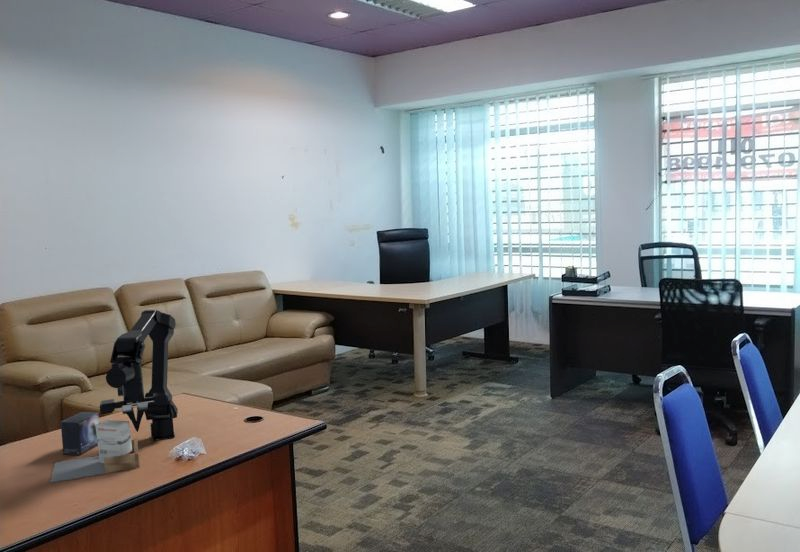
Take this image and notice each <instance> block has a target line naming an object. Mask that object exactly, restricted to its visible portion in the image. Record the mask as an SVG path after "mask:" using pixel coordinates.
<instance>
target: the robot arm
mask: <svg viewBox="0 0 800 552" xmlns="http://www.w3.org/2000/svg"><path fill="white" fill-rule="evenodd" d="M175 328H176V319H175V317H173V316H172V315H171V314H168V313H164V312H161V310H158V309H147V310H146V309H145V310H143V311H142V312H141V315H140V316H139V319H137V320H136V322H135V323H134V325H133V326H132V327H131V328H130V330H129V331H128V332H124V333H122V334H121V335H118V337H116V340H115V341H114V342H113V343H114V344H113V348H112V352H111V357H110V364H111V368H110V369H109V370H108V371H107V373H106V376H105V381H106V383H107V384H108V386H109V387H111V388H113V389H116V390H117V397H122V399H123V400H121V401H120V400H119V401H115V399H114V398H113V399H104V400H101V401H100V402H99V414H100V415H108V414H113V412H114V411H115V410H116V409H121V410H122V414H123V415H127V416H128V418H129V419H130V420H129V421H131V423H132V425H133V428H134V429H135V431H136V432H139V429H140V425H141V422H142V418H143V415H145V418H146V421H151V422H150V423H149V424H150V436H151V438H153V439H152V440H153V441H160V440H165V439H166V440H167V439H172V438H173V439H174V438H175V436H176V434H175V430H174V419H177V418H178V411H179V410H178V407H177V405H176V404H175V403H174V401H173V395H172V393H171V391H170V390H169V388H168V366H169V365H168V364H169V362H168V361H169V342H170V340H171V339H172V337H173V336H174V333H175ZM148 336H149V338H150V340H151V341H152V342H151V343H152V352H151V353H152V357H151V359H152V361H151V385H150V386H151V387H150V389H149V391H148V392H146V393H145V391H144V380H143V371H142V370H143V369H142V362H141V361H143V355H144V351H145V349H146V348H145V347H146V344H145V340H146V339H147V338H148ZM135 406H136V415H135V411H134V407H135Z"/></svg>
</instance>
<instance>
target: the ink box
mask: <svg viewBox="0 0 800 552" xmlns="http://www.w3.org/2000/svg"><path fill="white" fill-rule="evenodd" d="M95 426H96V434H97V442H98V446H97V447H98V456H99V458H100V463H105V462H104V458H109V457H115V456H121V455H127V454H134V453H133V451H132V442H131V439H132V436H131V428H130V420H111V419H106V420H104V421H100V422H99V423H98V424H96V425H95Z"/></svg>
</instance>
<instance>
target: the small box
mask: <svg viewBox="0 0 800 552" xmlns="http://www.w3.org/2000/svg"><path fill="white" fill-rule="evenodd" d="M98 423H100V415H99V412H96V411H95V412H93V411H80V412H79V413H76V414H74V415H71V416H70V417H67V418H65V419H63V420H61V421H60V430H61V441H62V444H61V445H62V455H73V456H81V455H83V454H84V453H87V452H88V451H90V450H92V449H94V448H95V447H98V442H97V434H96V426H95V425H96V424H98Z"/></svg>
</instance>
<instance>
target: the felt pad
mask: <svg viewBox="0 0 800 552" xmlns="http://www.w3.org/2000/svg"><path fill="white" fill-rule="evenodd" d="M105 474H107V473H105V463H100V458H99V455H94V456H89V457H83V458H77V459H70V460H63V461H58V462H54V466H53V469H52V472H51V478H50V481H49V483H50V484H51V483H52V484H54V483H58V482H64V481H70V480H76V479H82V478H87V477H94V476H99V475H105Z"/></svg>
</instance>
